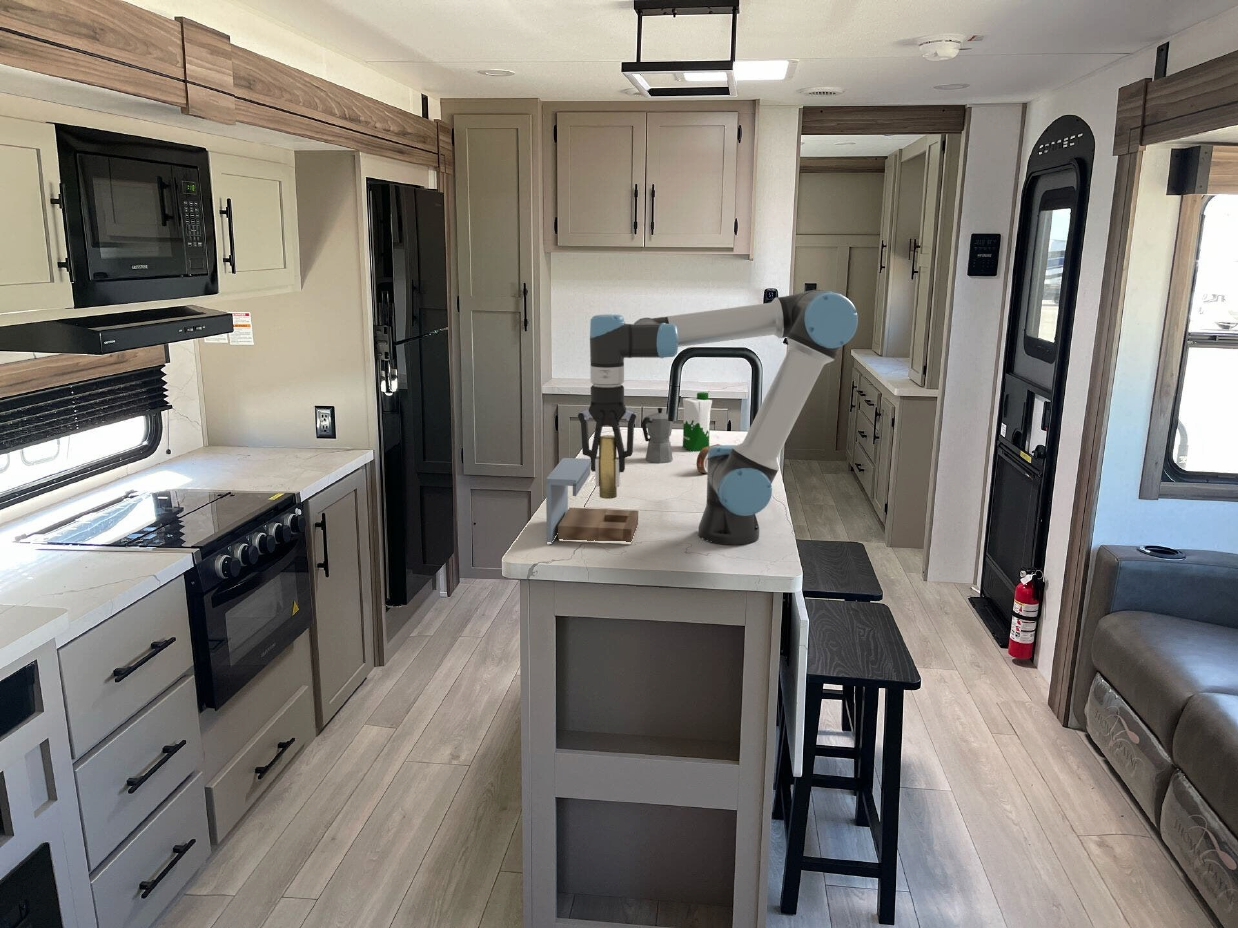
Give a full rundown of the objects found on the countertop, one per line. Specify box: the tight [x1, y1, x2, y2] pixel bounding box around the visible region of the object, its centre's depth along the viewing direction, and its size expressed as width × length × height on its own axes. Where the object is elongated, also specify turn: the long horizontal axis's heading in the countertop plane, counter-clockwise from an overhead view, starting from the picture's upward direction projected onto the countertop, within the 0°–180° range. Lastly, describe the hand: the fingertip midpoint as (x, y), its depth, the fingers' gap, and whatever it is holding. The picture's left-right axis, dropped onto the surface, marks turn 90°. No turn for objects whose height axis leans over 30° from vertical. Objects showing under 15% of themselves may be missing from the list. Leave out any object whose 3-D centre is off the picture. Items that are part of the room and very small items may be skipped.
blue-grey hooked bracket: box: [545, 457, 591, 543], centre depth 229 cm, size 7×22×16 cm, turn 173°
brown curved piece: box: [696, 443, 721, 475], centre depth 293 cm, size 15×3×8 cm, turn 141°
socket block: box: [557, 507, 639, 542], centre depth 230 cm, size 18×16×4 cm
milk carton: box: [682, 392, 713, 453], centre depth 324 cm, size 9×9×20 cm
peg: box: [598, 434, 618, 500], centre depth 209 cm, size 4×4×14 cm
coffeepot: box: [641, 407, 674, 464], centre depth 306 cm, size 15×9×18 cm, turn 137°
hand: (608, 485), depth 210 cm, fingers closed on peg, 4 cm apart
